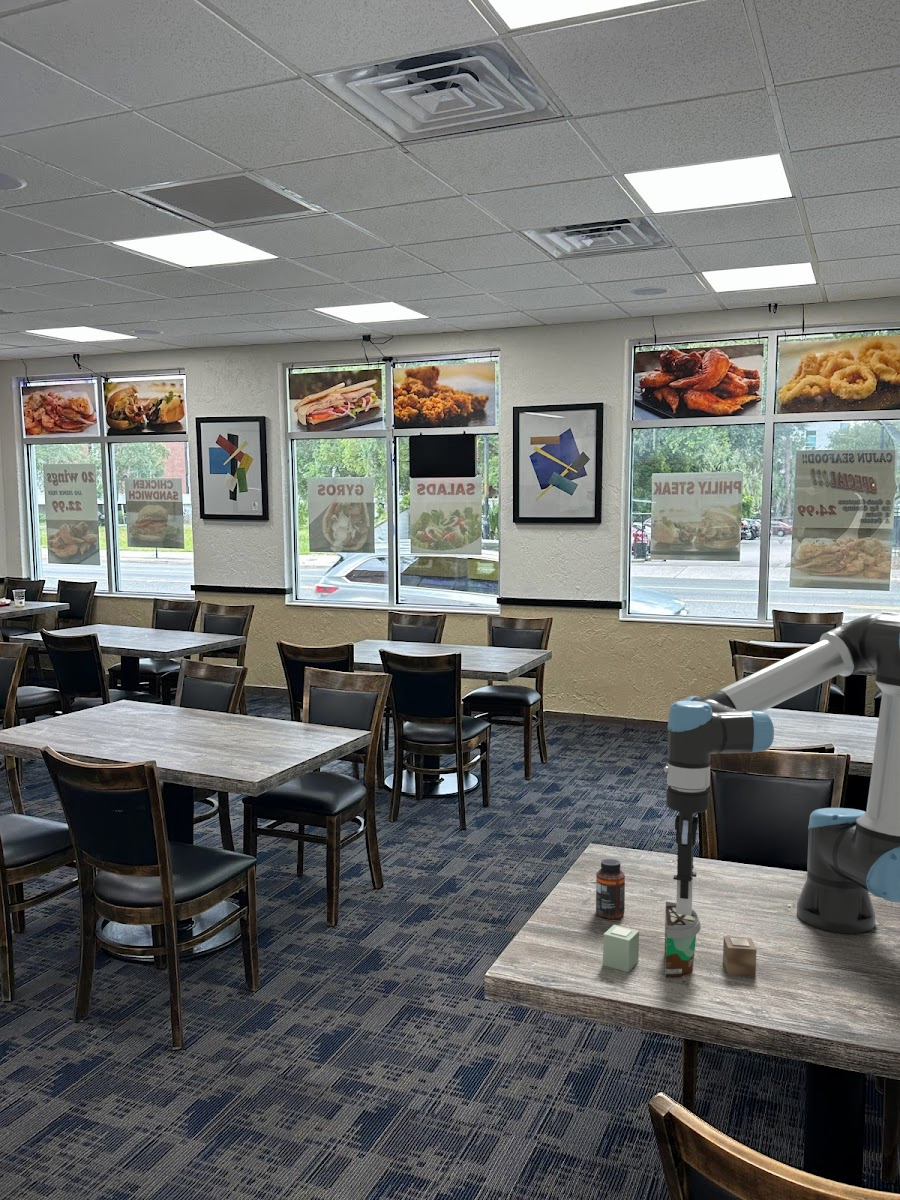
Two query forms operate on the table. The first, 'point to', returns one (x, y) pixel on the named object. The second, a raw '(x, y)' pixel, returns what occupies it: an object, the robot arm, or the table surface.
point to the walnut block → (739, 956)
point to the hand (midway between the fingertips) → (683, 912)
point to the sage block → (621, 948)
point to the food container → (679, 941)
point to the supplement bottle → (610, 890)
